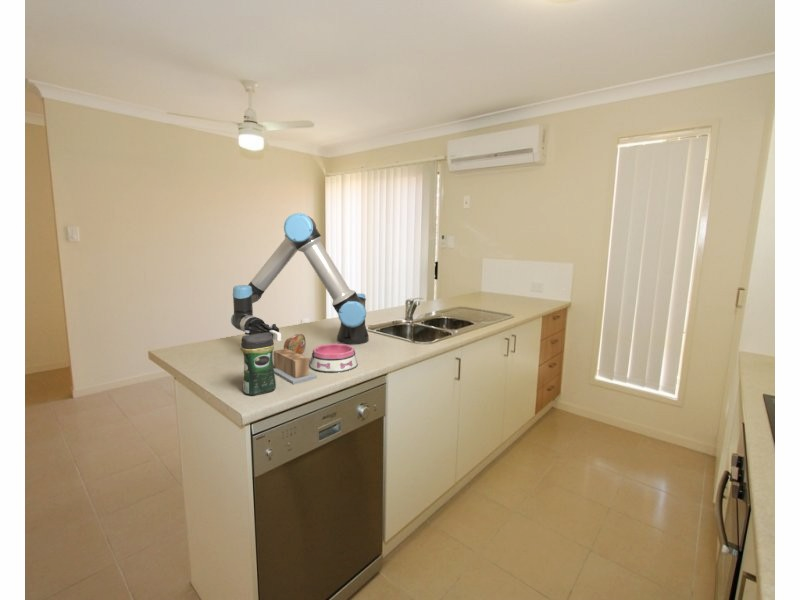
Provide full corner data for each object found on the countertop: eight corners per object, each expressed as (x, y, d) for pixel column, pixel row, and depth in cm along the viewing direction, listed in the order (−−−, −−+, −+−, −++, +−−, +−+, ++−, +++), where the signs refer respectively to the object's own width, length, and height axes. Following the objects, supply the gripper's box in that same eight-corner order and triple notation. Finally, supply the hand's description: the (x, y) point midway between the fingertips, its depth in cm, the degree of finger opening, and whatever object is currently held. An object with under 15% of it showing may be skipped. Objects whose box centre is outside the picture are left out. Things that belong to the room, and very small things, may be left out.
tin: (289, 361, 151) (289, 340, 149) (282, 360, 151) (281, 340, 150) (306, 351, 165) (306, 332, 164) (299, 350, 166) (299, 331, 165)
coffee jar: (269, 383, 128) (268, 329, 125) (278, 391, 122) (277, 334, 119) (239, 389, 122) (237, 333, 119) (247, 398, 116) (245, 338, 113)
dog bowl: (308, 359, 155) (308, 343, 154) (354, 357, 159) (354, 341, 158) (309, 375, 137) (309, 356, 136) (361, 371, 142) (361, 354, 141)
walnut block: (286, 348, 144) (308, 358, 132) (286, 363, 145) (308, 374, 133) (273, 351, 140) (295, 361, 129) (274, 366, 141) (295, 378, 130)
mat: (294, 366, 145) (294, 364, 145) (316, 378, 133) (316, 375, 133) (271, 371, 139) (271, 369, 138) (293, 384, 127) (293, 381, 127)
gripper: (268, 332, 163) (295, 344, 146) (237, 337, 154) (262, 350, 137) (267, 315, 161) (295, 324, 145) (236, 318, 153) (261, 329, 136)
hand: (279, 337), depth 141 cm, fingers closed
